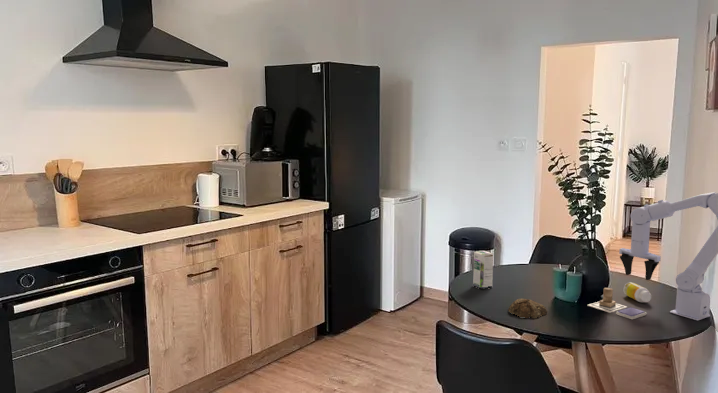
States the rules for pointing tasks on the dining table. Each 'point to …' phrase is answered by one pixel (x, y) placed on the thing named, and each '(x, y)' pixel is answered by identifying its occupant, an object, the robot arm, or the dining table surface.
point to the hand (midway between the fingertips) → (638, 277)
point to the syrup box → (483, 268)
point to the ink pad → (631, 313)
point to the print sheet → (615, 308)
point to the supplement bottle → (637, 292)
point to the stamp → (607, 298)
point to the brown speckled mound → (527, 308)
